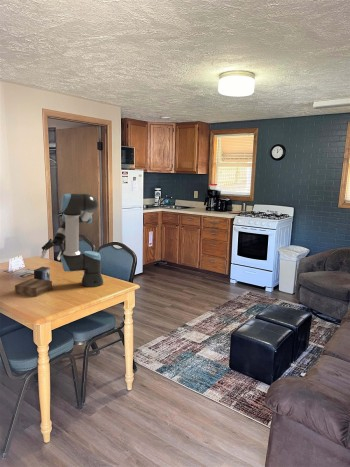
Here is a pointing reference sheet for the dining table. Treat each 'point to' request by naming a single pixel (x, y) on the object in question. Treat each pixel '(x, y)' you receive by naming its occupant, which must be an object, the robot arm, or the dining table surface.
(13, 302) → the dining table surface
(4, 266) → the dining table surface
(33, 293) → the walnut block
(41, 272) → the small box
